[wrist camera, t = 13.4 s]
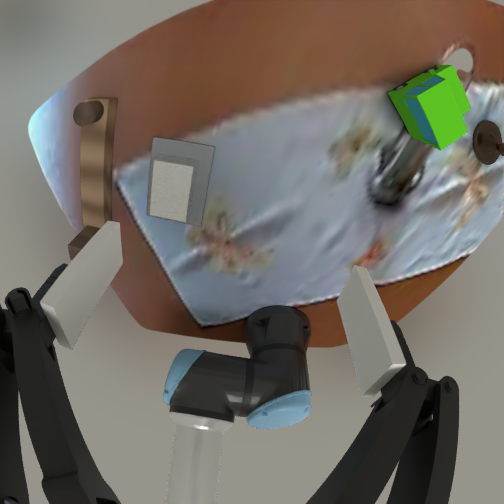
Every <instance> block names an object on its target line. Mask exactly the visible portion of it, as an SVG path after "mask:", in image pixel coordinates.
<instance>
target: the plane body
mask: <svg viewBox="0 0 504 504" xmlns="http://www.w3.org/2000/svg"><path fill="white" fill-rule="evenodd" d="M117 102H118V98H89V99H84V102H83V103H80V104H78V105H77V106H76V108H75V110H74V114H73V117H74V121H75V123H76V124H77V125H79V126H82V127H81V151H80V176H81V201H82V215H83V226H84V229H83V230H82V231H81V232H80V233H79V234H78V235H77V236H76V237H75V238H74V239H73V240H72V241H71V243H70V244H69V245H68V249H69V255H70V259H71V260H73V259H74V258H75V257H76V255H77V254H78V253H79V252H80V251H81V250H82V248H83V247H84V246H85V245H86V244H87V243H88V242H89V241H90V239H91V238H92V237H93V236H94V235H95V234H96V233H97V232H98V231H99V230H100V229H101V228H102V226H103V225H104V224H105V223H106V222H107V221H112V206H111V183H112V155H113V140H114V128H115V118H116V110H117Z"/></svg>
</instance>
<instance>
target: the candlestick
mask: <svg viewBox="0 0 504 504" xmlns="http://www.w3.org/2000/svg"><path fill="white" fill-rule="evenodd" d="M473 149H474V152H475V155H476V157H477V158H478V160H479V161H481V162H482V163H484V164H486V165H490V164H493V163H494V162H495V161H496V160H497V159H498V157H499V155H500V154H501V155H502V156H504V143H502V138H501V133H500V131H499V129H498V127H497V126H496V124H495V123H493V122H491V121H488V120H483V121H481V122H480V123H479V124H478V125H477V126H476V128H475V131H474V134H473Z"/></svg>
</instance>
